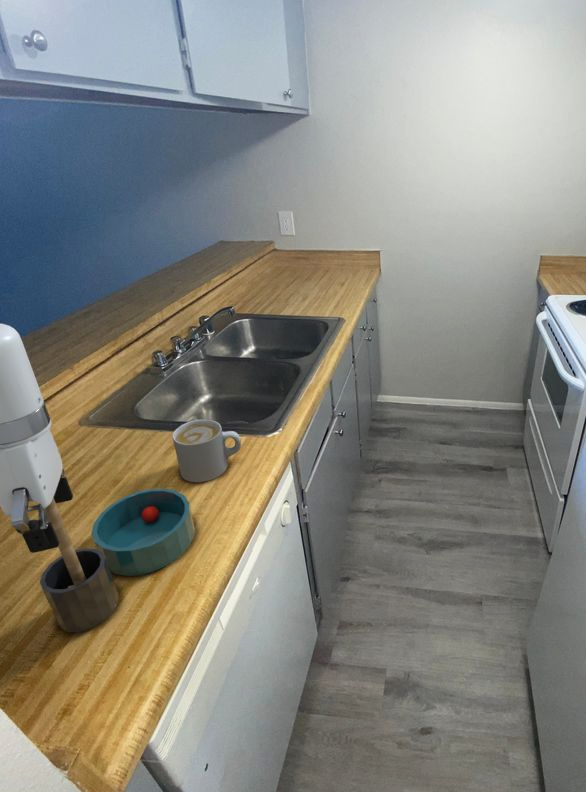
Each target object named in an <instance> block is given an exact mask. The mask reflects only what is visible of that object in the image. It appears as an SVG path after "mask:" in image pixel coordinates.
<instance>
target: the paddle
mask: <svg viewBox="0 0 586 792" xmlns="http://www.w3.org/2000/svg"><path fill="white" fill-rule="evenodd" d="M46 511H47V522H48V523H50V522H51V523H52V525H53V528H54V530H55V533H56V535H57V537H58V540H59V546H58V547H57V548H58V550H59V552H60V555H61V556H62V557H63V559H64V562H65V564H66V566H67V569H68V571H69V574H70V576H71V578H72V581H73V583H74V585H72V586H68V588H71V587H74V586H76V585H78V584H80V583H82V582H84V581H86V577H85V575H84V572H83V570H82V567H81V565H80V562H79V560H78V557H77V555H76V552H75V550H76V549H75V548H74V545H73V543H72V540H71V538H70V534H69V533H68V530H67V528H66V525H65V523H64V520H63V518H62V515H61V513H60V511H59V508H58V505H57V503H55V500H54V498H53V499H52V502H51V503H50V504H49V506H48V507H46Z"/></svg>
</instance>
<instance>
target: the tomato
mask: <svg viewBox="0 0 586 792" xmlns="http://www.w3.org/2000/svg"><path fill="white" fill-rule="evenodd" d="M158 516H159V510H158V509H157V508H156V507H153V506H150V507H147V508H145V509H144V510H143V512H142V519H143V520H144V521H145V522H153V521H155V520H156V519H157V518H158Z"/></svg>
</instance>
